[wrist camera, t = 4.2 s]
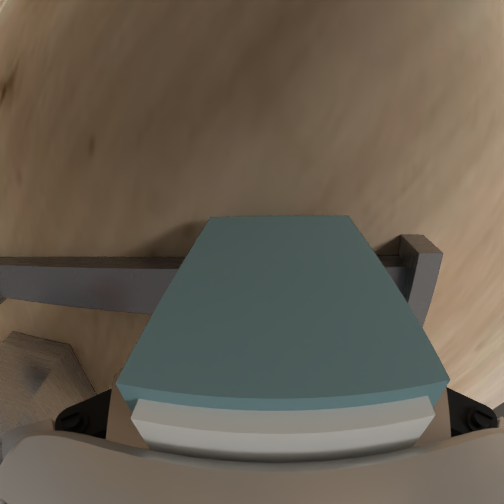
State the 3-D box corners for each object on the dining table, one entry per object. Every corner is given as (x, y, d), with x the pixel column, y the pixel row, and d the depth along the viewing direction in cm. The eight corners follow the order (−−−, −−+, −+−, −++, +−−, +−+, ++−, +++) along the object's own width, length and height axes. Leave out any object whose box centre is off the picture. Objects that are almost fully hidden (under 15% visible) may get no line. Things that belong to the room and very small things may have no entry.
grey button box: (69, 344, 17) (6, 442, 9) (105, 408, 20) (67, 494, 12) (12, 331, 17) (-46, 403, 9) (48, 391, 20) (8, 460, 12)
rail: (423, 234, 12) (443, 253, 10) (405, 313, 14) (418, 337, 12) (-21, 244, 14) (-38, 255, 12) (-2, 297, 16) (-17, 310, 14)
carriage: (341, 206, 11) (459, 398, 3) (327, 341, 14) (353, 517, 6) (216, 207, 12) (105, 402, 3) (229, 341, 15) (196, 517, 6)
